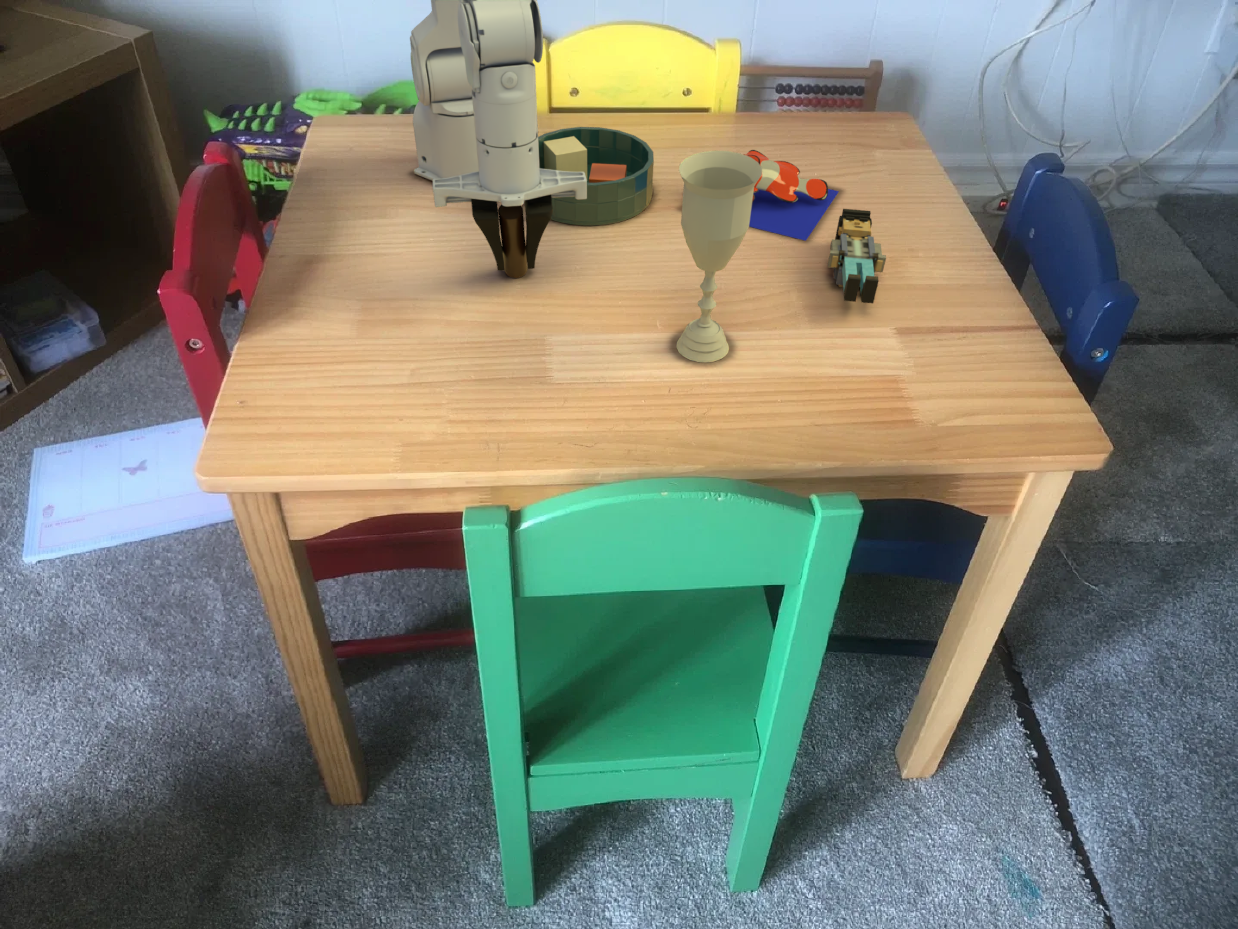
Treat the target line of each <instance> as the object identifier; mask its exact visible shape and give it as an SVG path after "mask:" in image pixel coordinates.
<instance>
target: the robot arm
mask: <svg viewBox="0 0 1238 929" xmlns="http://www.w3.org/2000/svg"><path fill="white" fill-rule="evenodd" d="M430 6H431V12H430V13H429V14H428V15H427V16H426V17H425V18H423V19H422V20H421V21H420V22H419V23H418V24H417V25H415V26H414V27H413V28H412V29H411V31H410V35H409V44H410V67H411V73H412V80H413V85H414V90H415V93H416V94H415V95H416V97H417V100H418V101H417V103H416V105H415V107H414V110H413V115H412V128H413V134H414V142H415V149H416V150H415V151H416V155H417V156H416V157H417V164H418V167H415V168H414V170H413V173H414V174H415V175H417V176H420V177H421V178H425V179H426V180H429V181H432V193H433V200H434V207H435V208H444V207H447V205H448V204H458V203H471V213H472V214H471V215H472V218H473V220H474V222H475V224H476V226H477V227H478V228H479V230H480V231H481V232H482V234H483V236H484V238H485V240H486V241H487V243H488V245H489V247H490V249H491V252H492V255H493V257H494V260H495V263H496V264H495V265H496V268H497V271H498V272H503V271H505V269H504V258H503V249H502V241H501V232H500V223H499V214H498V209H499V207H498V206H499V205H498V202H499V203H500V205H501V204H502V205H503V206H523V205H524V211H525V243H526V259H527V270H531V269H532V270H533V269H535V268H536V259H537V254H538V249H539V246H540V243H541V240H542V237H543V234H544V232H545V230H546V228H547V226H548V224H549V223H550V222H551V221H552V220H551V217H552V213H553V207H552V198H555V197H574V196H575V198H576V199H587V180H586V176H585V172H568V171H558V170H549V169H540V168H539V144H538V137H539V125H538V124H539V123H538V122H539V121H538V102H537V100H538V98H537V74H536V65H535V63H534V61H535V62H536V63H538V64H539V63H540V62H541V61H542V58H543V53H544V52H543V51H544V33H543V31H544V30H543V22H542V17H541V11H540V6H539V2H538V0H430Z"/></svg>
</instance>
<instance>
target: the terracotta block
mask: <svg viewBox="0 0 1238 929" xmlns="http://www.w3.org/2000/svg"><path fill="white" fill-rule="evenodd" d="M624 177H626V165H616V164H596V163H592V166H591V171H590V176H589V183H599V182H606V181H614V180H618V179H621V178H624Z"/></svg>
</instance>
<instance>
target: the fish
mask: <svg viewBox="0 0 1238 929" xmlns="http://www.w3.org/2000/svg"><path fill="white" fill-rule="evenodd" d="M742 154H743V155H746V156H749V157H751V158H752V159H754V160H755V161H757V162H758V163H759V165H760V166H761V168H762V175H761V177H760V178H759V180H758V181H757V183H756V184H755V186H754V191H753V194H756V193H758V192H759V191H763V192H767V193H770V194H771V195H773V196H774V197H776V198H777V199H779V200H780V201H782V202H785V203H788V204H793V203H796V202H797V201H798V200H799V196H798V195H797V194H795V193H802V194H804V195H806V196H808V197H810V198H812V199H814V200H817V201H824V200H825V199H826V198H827V197H828V195H829V189H830V188H829V185H828V183H827V181H825V180H824V179H821V178H801V177H799V175H800V173H801V171H800V168H798V167H797V165H795V164H793V163H791V162H789V161H786V160H772V159H769V157H767V156H766V155H765V154H763V153H762V152H760V151H758V150H756V149H751V150H749V151H748V152H746V153H742Z"/></svg>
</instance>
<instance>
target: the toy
mask: <svg viewBox="0 0 1238 929" xmlns="http://www.w3.org/2000/svg"><path fill="white" fill-rule="evenodd" d="M871 213H872V212H871V210H865V209H864V210H862V209H851V208H843V209H842V212H841V215H839V217H838V222H837V228H836V231H835V237H834V238H832V239H831V243H830V248H829V256H828V261H827V268H831V269H833V280H835V282H836V283H835V284H836V286H837V285H838V288H842V289H843V290H842V292H843V301H844V302H854V303H856V302H857V298H858V294H859V293H860V302H861V303H865V304H874V302H875V298H876V293H877V289H878V286H879V280H880V279H879V276H875V274H876V273H884V269H885V264H886V260H887V255H886V254H883V250H882V243H880V242H879V243H878V242H875V237H874V236H872V226H873V221H872V218H871ZM859 290H860V292H859Z"/></svg>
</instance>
